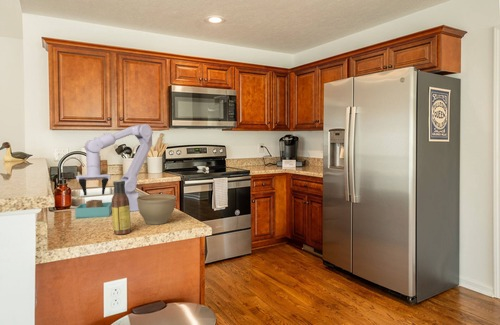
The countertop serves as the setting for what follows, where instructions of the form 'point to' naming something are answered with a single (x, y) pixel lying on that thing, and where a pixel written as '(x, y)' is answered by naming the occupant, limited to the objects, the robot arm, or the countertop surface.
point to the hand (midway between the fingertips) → (94, 194)
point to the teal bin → (93, 211)
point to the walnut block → (94, 203)
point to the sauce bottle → (120, 209)
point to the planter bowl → (156, 207)
